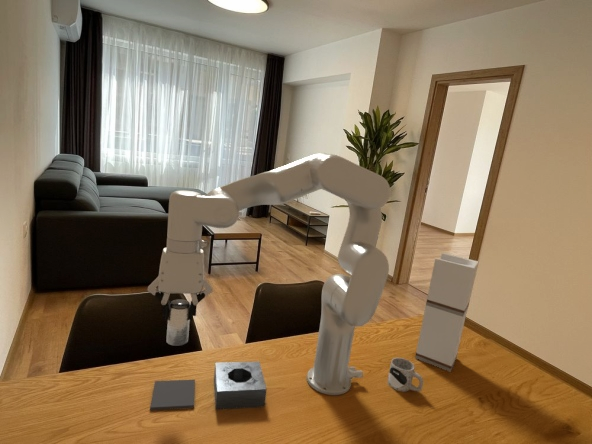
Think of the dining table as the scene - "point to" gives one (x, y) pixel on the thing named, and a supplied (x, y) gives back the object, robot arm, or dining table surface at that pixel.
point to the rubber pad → (173, 395)
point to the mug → (403, 375)
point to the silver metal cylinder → (178, 322)
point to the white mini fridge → (446, 310)
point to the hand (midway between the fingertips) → (179, 317)
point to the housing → (239, 385)
